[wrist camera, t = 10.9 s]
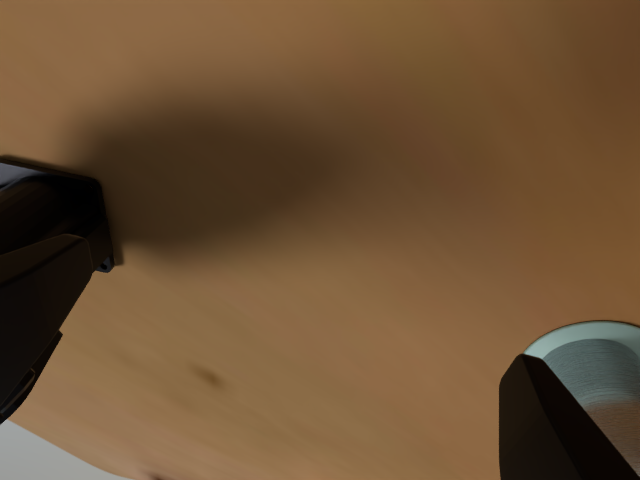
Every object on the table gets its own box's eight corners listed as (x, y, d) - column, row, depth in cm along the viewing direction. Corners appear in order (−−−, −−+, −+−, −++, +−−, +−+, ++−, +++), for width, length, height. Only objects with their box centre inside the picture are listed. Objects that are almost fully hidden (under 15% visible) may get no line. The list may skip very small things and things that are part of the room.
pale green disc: (497, 394, 28) (497, 397, 28) (551, 307, 24) (552, 309, 24) (620, 422, 28) (621, 425, 28) (699, 339, 23) (701, 342, 23)
